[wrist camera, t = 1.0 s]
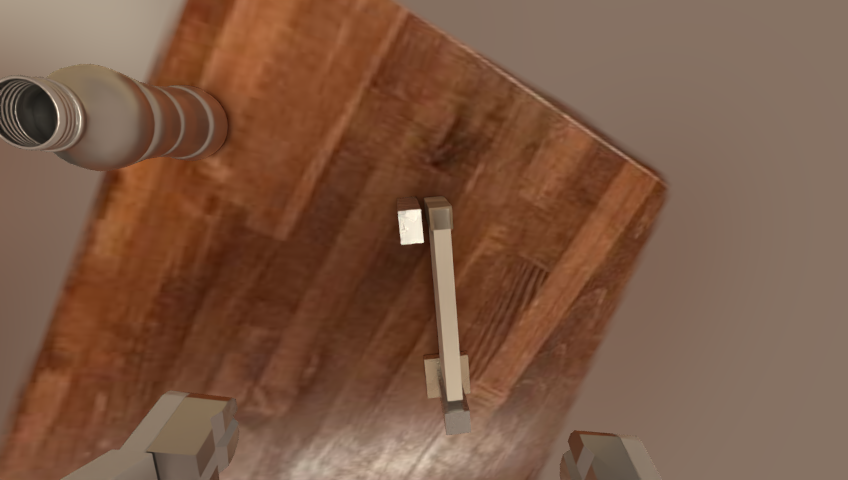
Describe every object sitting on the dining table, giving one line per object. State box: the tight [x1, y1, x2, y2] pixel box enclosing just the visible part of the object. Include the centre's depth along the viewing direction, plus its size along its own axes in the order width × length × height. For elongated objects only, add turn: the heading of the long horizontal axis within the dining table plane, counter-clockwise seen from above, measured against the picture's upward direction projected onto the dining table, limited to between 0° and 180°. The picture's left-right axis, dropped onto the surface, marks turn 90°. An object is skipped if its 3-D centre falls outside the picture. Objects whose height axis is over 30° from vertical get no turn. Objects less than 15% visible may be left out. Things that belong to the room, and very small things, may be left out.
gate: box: [424, 196, 463, 401], centre depth 41 cm, size 19×2×6 cm, turn 5°
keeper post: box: [397, 197, 424, 245], centre depth 40 cm, size 3×2×8 cm, turn 5°
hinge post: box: [424, 351, 471, 435], centre depth 44 cm, size 5×5×9 cm
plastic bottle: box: [0, 64, 228, 171], centre depth 31 cm, size 6×7×20 cm
